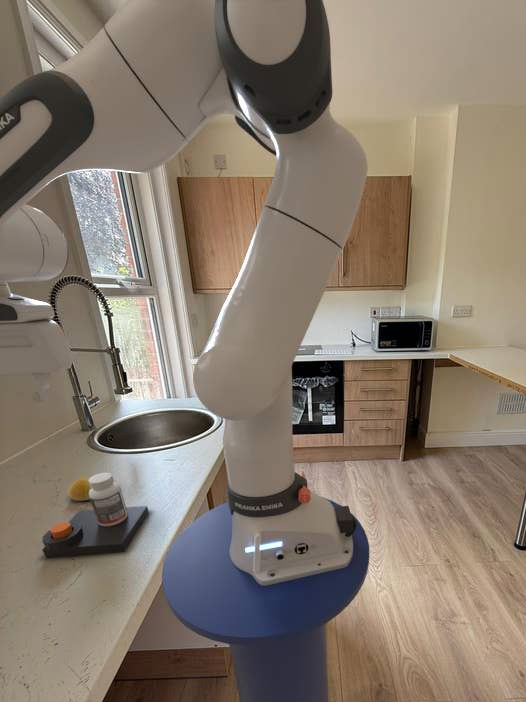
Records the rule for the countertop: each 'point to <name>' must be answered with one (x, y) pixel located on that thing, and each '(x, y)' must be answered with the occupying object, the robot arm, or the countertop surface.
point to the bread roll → (80, 490)
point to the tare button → (61, 530)
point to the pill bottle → (107, 500)
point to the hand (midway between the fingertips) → (12, 402)
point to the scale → (95, 534)
